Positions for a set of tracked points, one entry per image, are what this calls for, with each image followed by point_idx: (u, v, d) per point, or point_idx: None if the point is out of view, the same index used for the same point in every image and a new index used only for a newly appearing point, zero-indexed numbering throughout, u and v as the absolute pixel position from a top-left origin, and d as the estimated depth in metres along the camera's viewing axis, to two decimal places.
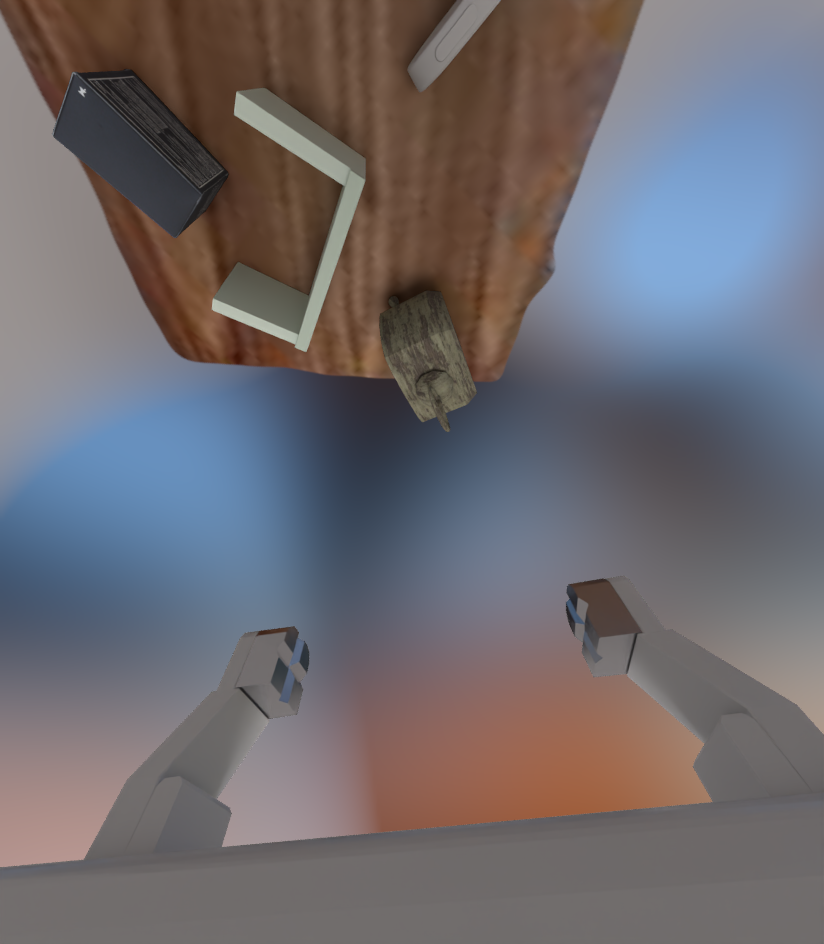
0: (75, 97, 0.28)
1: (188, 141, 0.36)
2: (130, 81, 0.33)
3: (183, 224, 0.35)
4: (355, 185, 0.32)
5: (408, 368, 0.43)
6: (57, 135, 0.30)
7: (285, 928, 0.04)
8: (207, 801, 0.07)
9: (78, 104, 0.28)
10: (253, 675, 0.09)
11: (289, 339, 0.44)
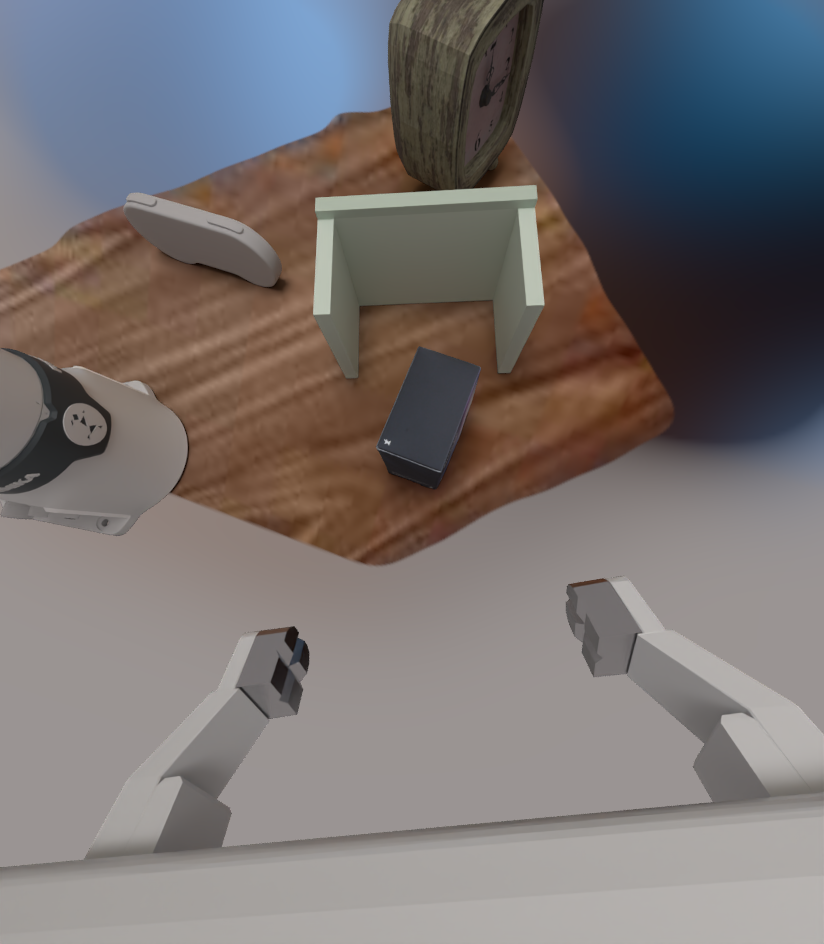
0: (395, 448, 0.28)
1: None
2: None
3: (460, 360, 0.30)
4: (324, 203, 0.31)
5: (464, 15, 0.28)
6: (437, 467, 0.28)
7: (285, 928, 0.04)
8: (207, 801, 0.07)
9: (399, 446, 0.28)
10: (253, 675, 0.09)
11: (531, 215, 0.30)
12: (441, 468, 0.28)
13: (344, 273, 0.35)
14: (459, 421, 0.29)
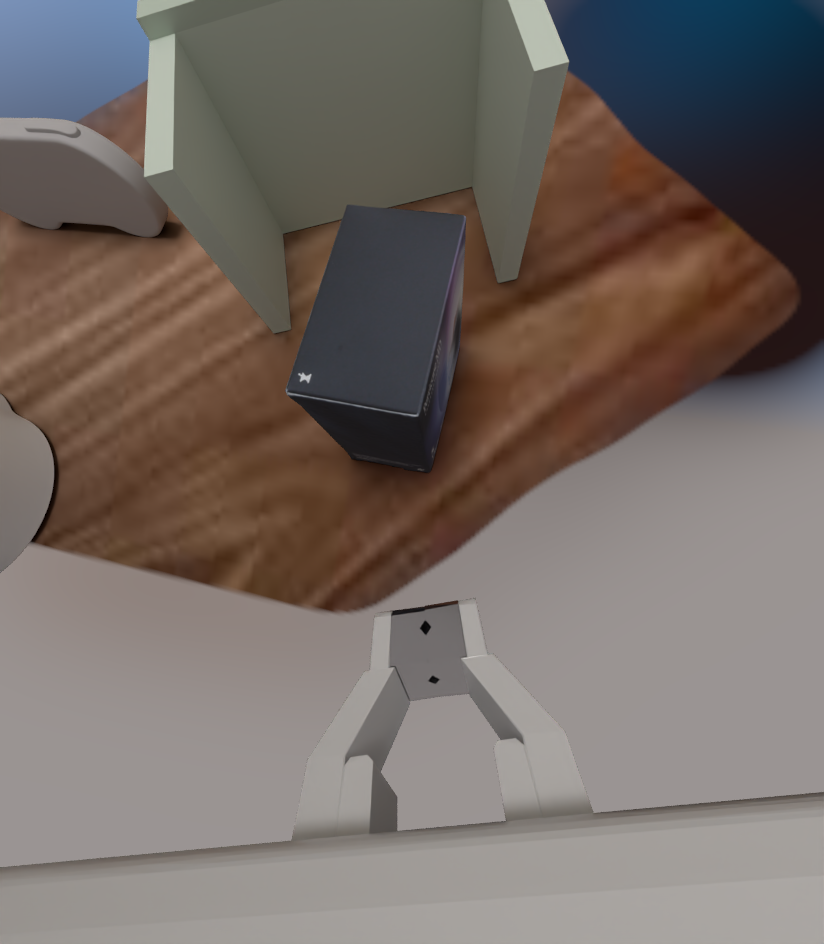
0: (321, 385, 0.14)
1: None
2: None
3: (424, 212, 0.16)
4: (151, 4, 0.18)
5: None
6: (410, 408, 0.14)
7: (285, 928, 0.04)
8: (385, 782, 0.07)
9: (329, 380, 0.14)
10: (405, 654, 0.08)
11: None
12: (418, 408, 0.14)
13: (227, 151, 0.22)
14: (440, 315, 0.14)
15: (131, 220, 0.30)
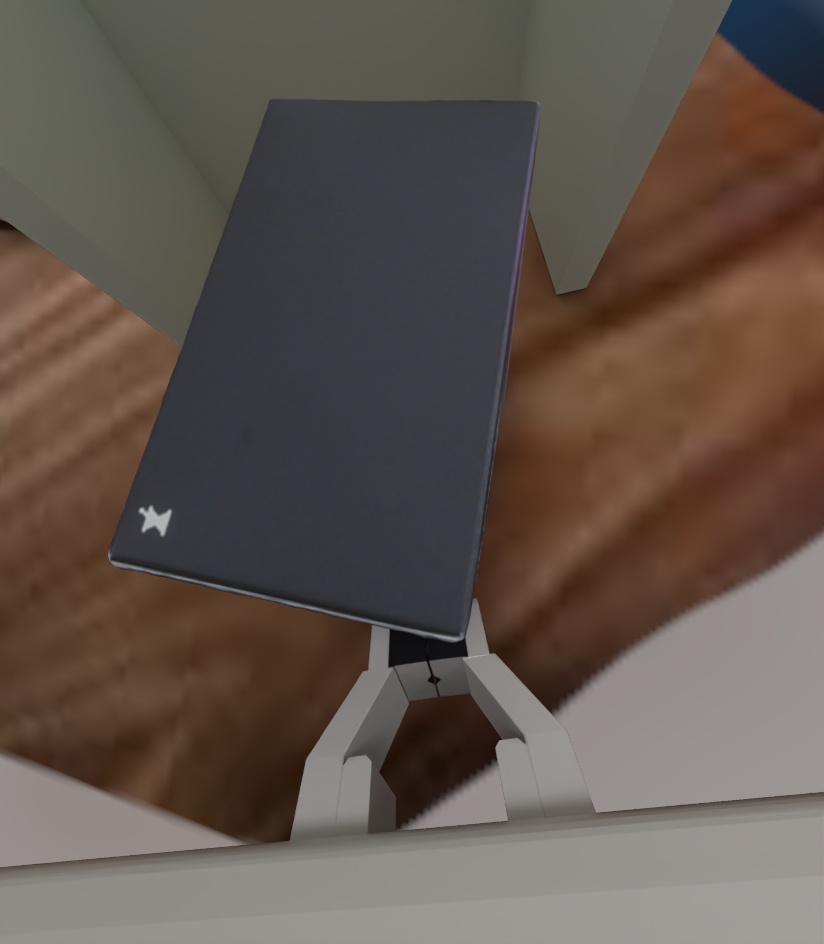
0: (196, 544, 0.05)
1: None
2: None
3: (443, 102, 0.07)
4: None
5: None
6: (439, 615, 0.05)
7: (285, 928, 0.04)
8: (384, 782, 0.07)
9: (216, 529, 0.05)
10: (404, 654, 0.08)
11: None
12: (462, 616, 0.05)
13: (109, 80, 0.13)
14: (502, 339, 0.06)
15: None
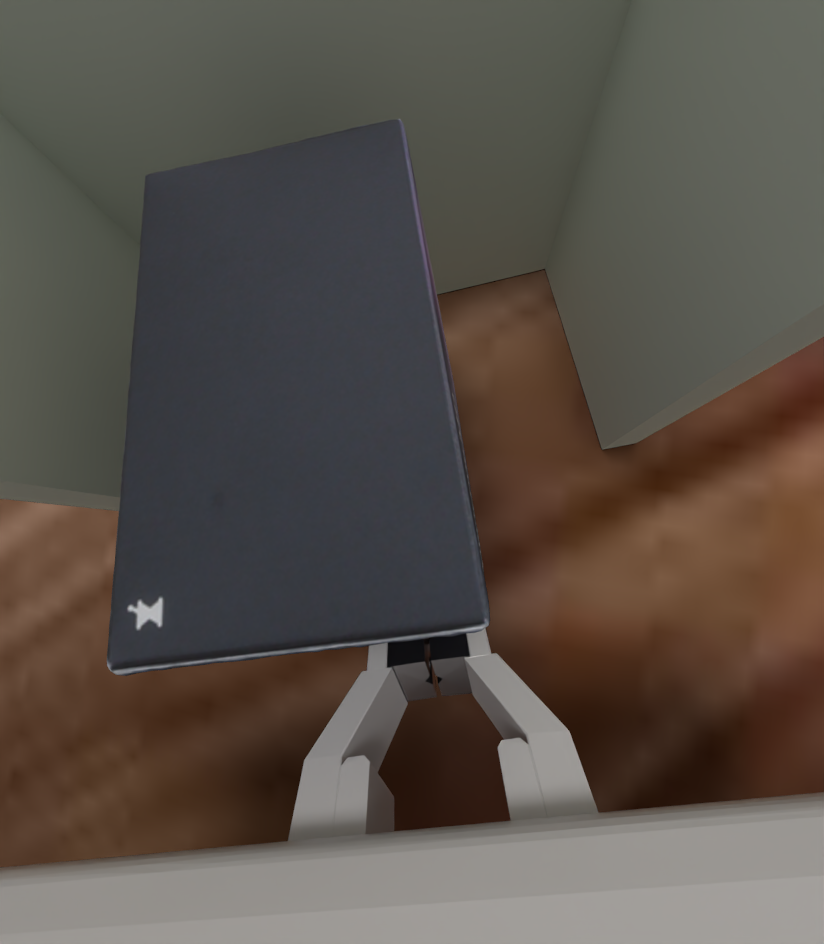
0: (198, 623, 0.05)
1: None
2: None
3: (313, 139, 0.07)
4: None
5: None
6: (459, 610, 0.05)
7: (285, 928, 0.04)
8: (382, 783, 0.07)
9: (214, 601, 0.05)
10: (402, 654, 0.08)
11: None
12: (480, 603, 0.05)
13: (96, 256, 0.11)
14: (435, 336, 0.06)
15: None
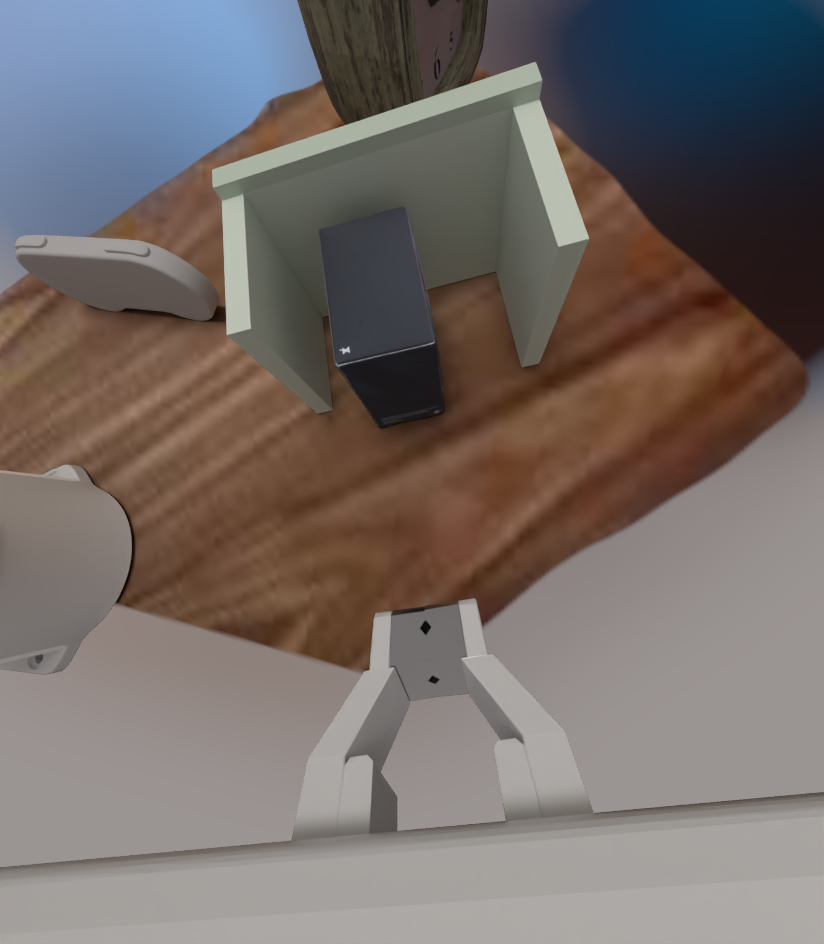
0: (359, 350, 0.19)
1: None
2: None
3: (376, 214, 0.22)
4: (224, 174, 0.21)
5: None
6: (427, 339, 0.19)
7: (285, 928, 0.04)
8: (385, 782, 0.07)
9: (363, 345, 0.19)
10: (405, 654, 0.08)
11: (537, 112, 0.19)
12: (432, 337, 0.19)
13: (281, 273, 0.25)
14: (419, 274, 0.20)
15: (187, 310, 0.34)
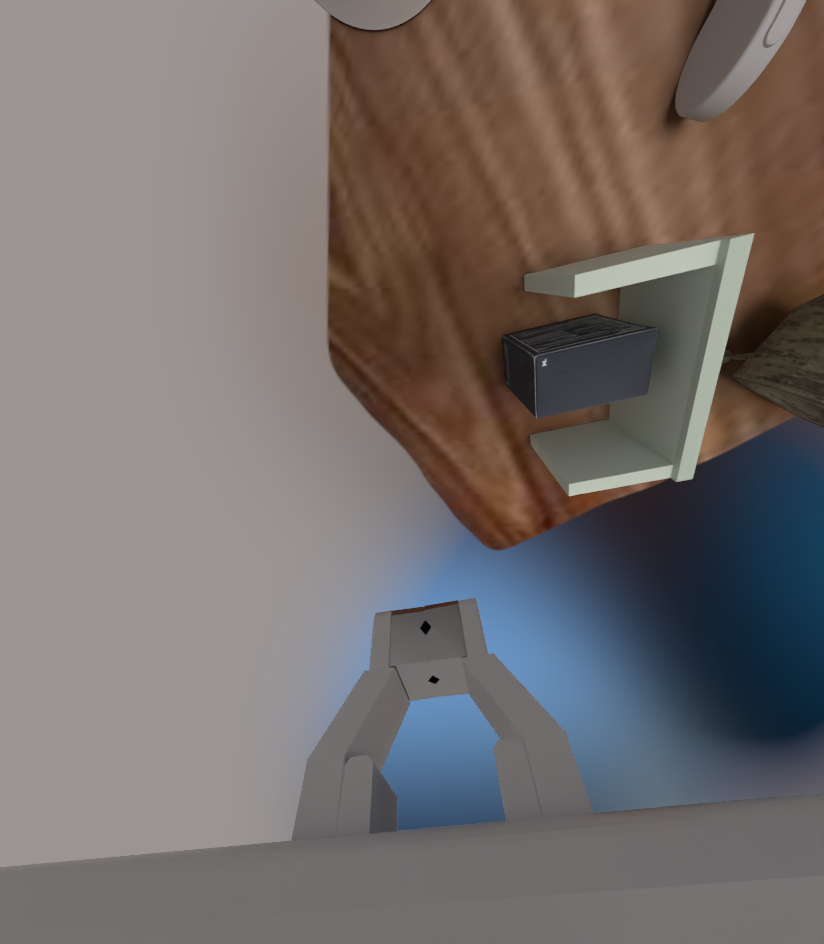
0: (541, 373, 0.29)
1: (571, 324, 0.35)
2: (518, 337, 0.35)
3: (650, 374, 0.30)
4: (740, 249, 0.23)
5: None
6: (539, 414, 0.32)
7: (285, 928, 0.04)
8: (385, 782, 0.07)
9: (545, 375, 0.30)
10: (405, 654, 0.08)
11: (661, 476, 0.33)
12: (539, 417, 0.32)
13: None
14: (587, 407, 0.31)
15: (697, 60, 0.26)
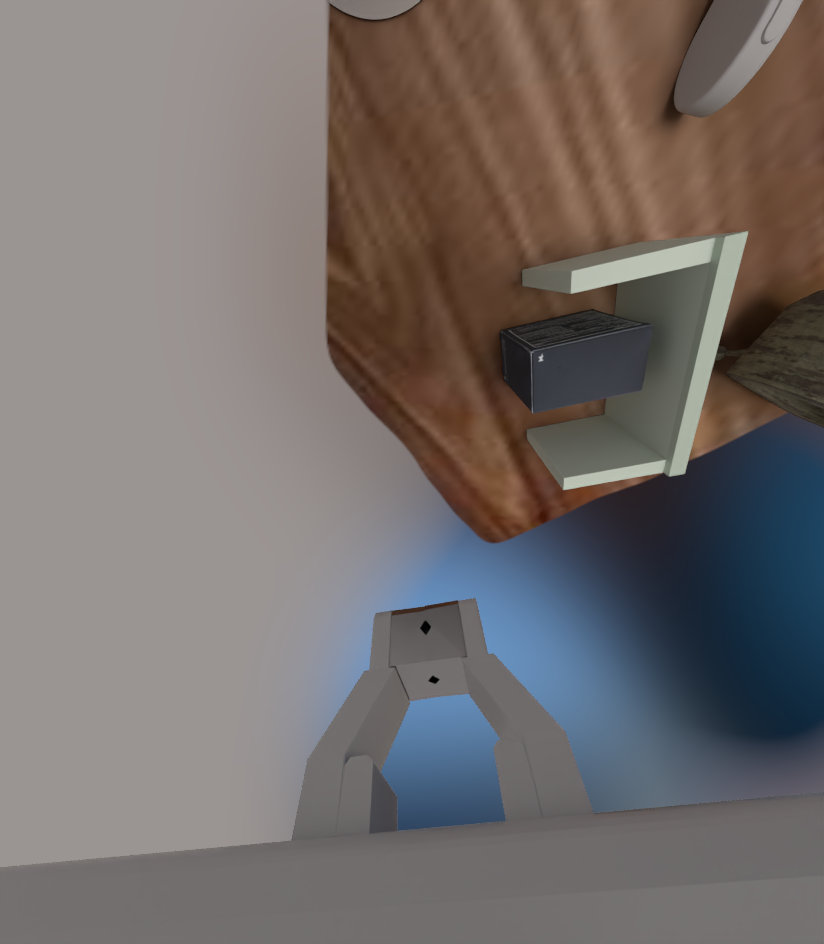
0: (538, 368, 0.30)
1: (568, 320, 0.35)
2: (515, 332, 0.36)
3: (644, 370, 0.30)
4: (734, 247, 0.23)
5: None
6: (535, 409, 0.32)
7: (285, 928, 0.04)
8: (385, 782, 0.07)
9: (541, 370, 0.30)
10: (405, 654, 0.08)
11: (654, 471, 0.34)
12: (535, 412, 0.32)
13: None
14: (582, 402, 0.32)
15: (696, 54, 0.26)
